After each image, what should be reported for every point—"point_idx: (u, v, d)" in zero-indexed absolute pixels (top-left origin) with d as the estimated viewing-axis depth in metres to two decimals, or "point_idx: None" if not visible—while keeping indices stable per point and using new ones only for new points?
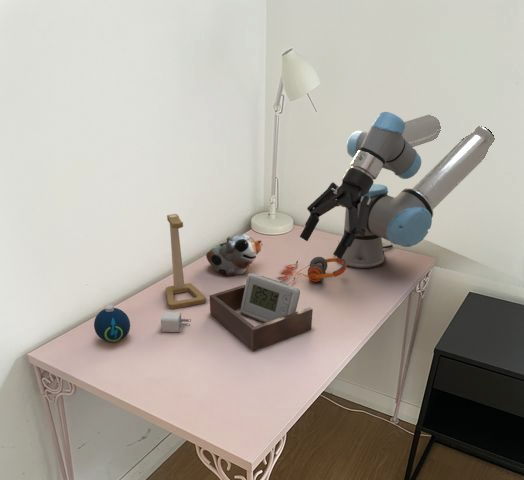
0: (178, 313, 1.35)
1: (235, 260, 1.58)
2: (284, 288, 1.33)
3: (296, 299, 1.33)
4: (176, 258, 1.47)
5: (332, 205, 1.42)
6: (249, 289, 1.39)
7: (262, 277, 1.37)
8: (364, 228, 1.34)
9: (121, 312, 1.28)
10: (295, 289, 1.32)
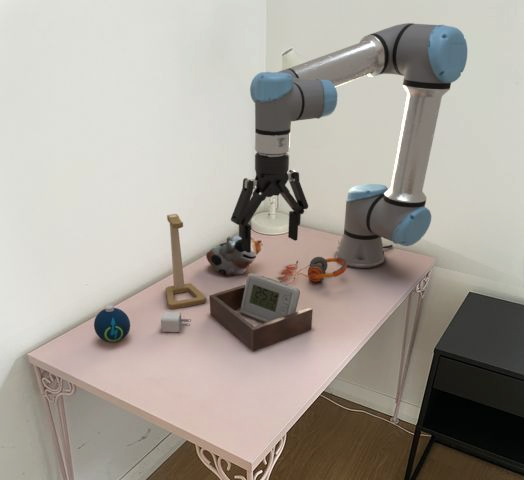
0: (178, 313, 1.35)
1: (235, 260, 1.58)
2: (284, 288, 1.33)
3: (296, 299, 1.33)
4: (176, 258, 1.47)
5: None
6: (249, 289, 1.39)
7: (262, 277, 1.37)
8: None
9: (121, 312, 1.28)
10: (295, 289, 1.32)
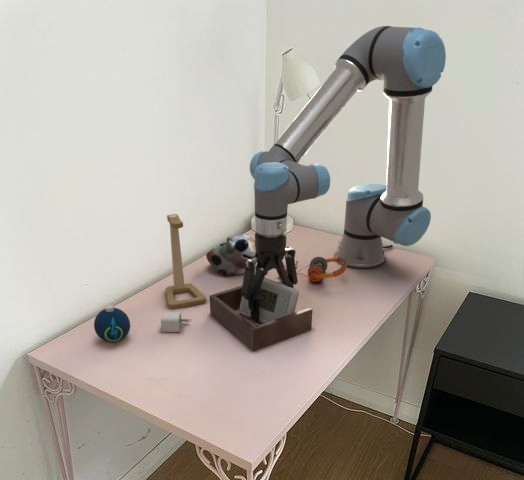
0: (178, 313, 1.35)
1: (235, 260, 1.58)
2: (283, 289, 1.33)
3: (295, 300, 1.32)
4: (176, 258, 1.47)
5: None
6: None
7: None
8: None
9: (121, 312, 1.28)
10: (294, 290, 1.32)
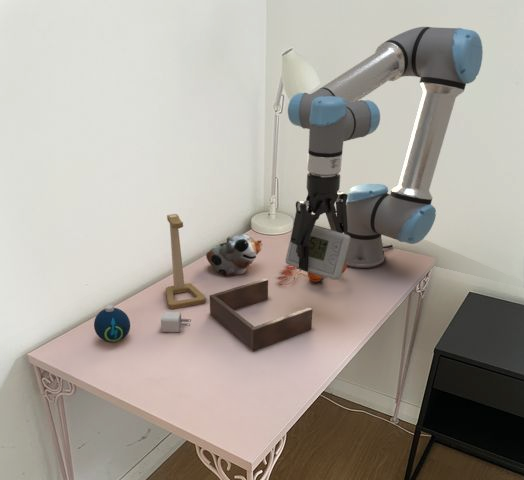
0: (178, 313, 1.35)
1: (235, 260, 1.58)
2: (334, 235, 1.27)
3: (347, 246, 1.26)
4: (176, 258, 1.47)
5: None
6: None
7: None
8: None
9: (121, 312, 1.28)
10: (346, 235, 1.26)
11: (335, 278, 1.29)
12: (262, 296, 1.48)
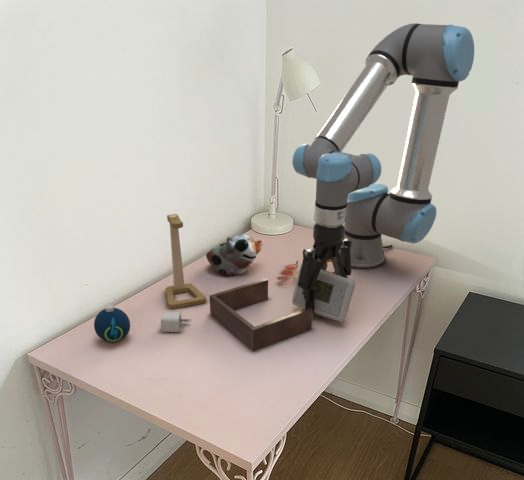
0: (178, 313, 1.35)
1: (235, 260, 1.58)
2: (339, 280, 1.34)
3: (351, 290, 1.33)
4: (176, 258, 1.47)
5: None
6: None
7: None
8: None
9: (121, 312, 1.28)
10: (350, 281, 1.33)
11: (340, 320, 1.36)
12: (262, 296, 1.48)
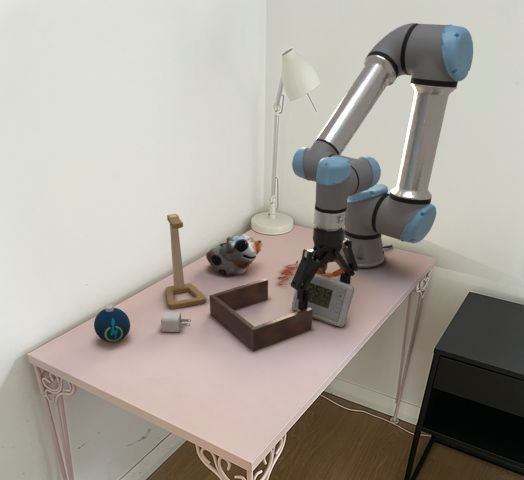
0: (178, 313, 1.35)
1: (235, 260, 1.58)
2: (338, 285, 1.35)
3: (350, 296, 1.34)
4: (176, 258, 1.47)
5: None
6: None
7: (315, 274, 1.39)
8: None
9: (121, 312, 1.28)
10: (349, 286, 1.34)
11: (339, 325, 1.37)
12: (262, 296, 1.48)
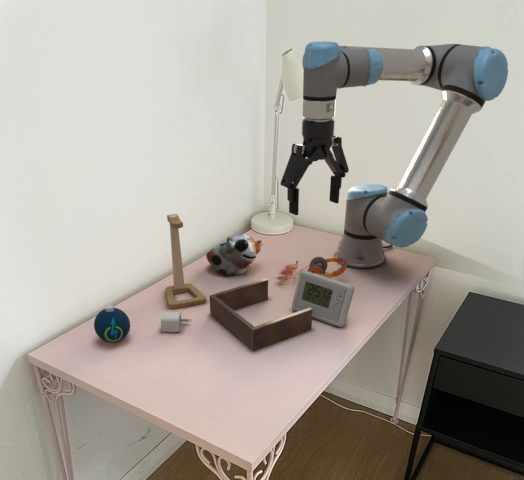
0: (178, 313, 1.35)
1: (235, 260, 1.58)
2: (338, 285, 1.35)
3: (350, 296, 1.34)
4: (176, 258, 1.47)
5: None
6: (302, 285, 1.41)
7: (315, 274, 1.39)
8: None
9: (121, 312, 1.28)
10: (349, 286, 1.34)
11: (339, 325, 1.37)
12: (262, 296, 1.48)
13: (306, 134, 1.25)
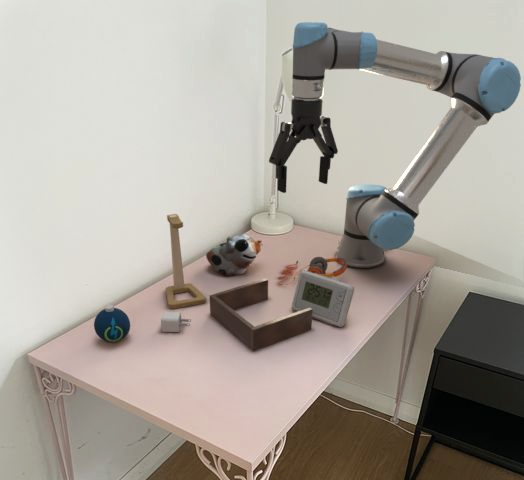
0: (178, 313, 1.35)
1: (235, 260, 1.58)
2: (338, 285, 1.35)
3: (350, 296, 1.34)
4: (176, 258, 1.47)
5: None
6: (302, 285, 1.41)
7: (315, 274, 1.39)
8: None
9: (121, 312, 1.28)
10: (349, 286, 1.34)
11: (339, 325, 1.37)
12: (262, 296, 1.48)
13: (295, 113, 1.28)
